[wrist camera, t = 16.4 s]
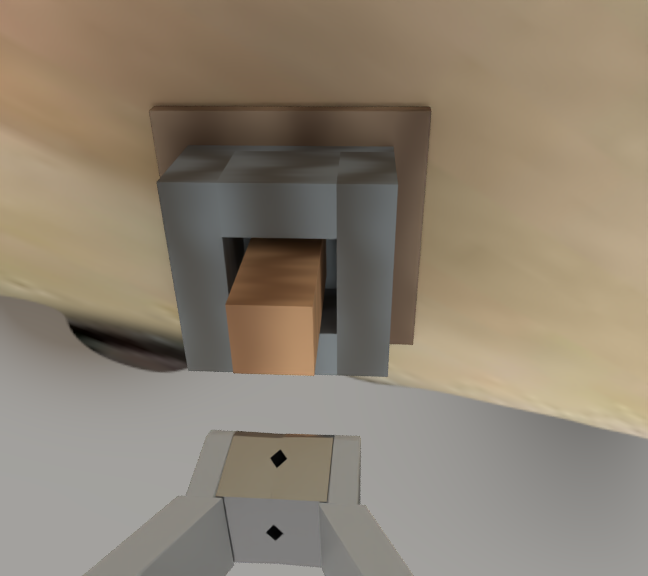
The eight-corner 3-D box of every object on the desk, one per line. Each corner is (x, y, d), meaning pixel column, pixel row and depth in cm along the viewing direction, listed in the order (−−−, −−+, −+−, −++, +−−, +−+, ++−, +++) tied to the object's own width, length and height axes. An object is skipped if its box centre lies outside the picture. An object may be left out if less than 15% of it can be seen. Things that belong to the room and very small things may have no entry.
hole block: (429, 107, 34) (443, 144, 28) (412, 336, 42) (419, 403, 36) (154, 106, 35) (109, 142, 29) (189, 330, 43) (160, 394, 37)
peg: (326, 216, 35) (312, 306, 27) (326, 274, 37) (314, 375, 29) (259, 215, 36) (225, 304, 27) (264, 273, 38) (233, 373, 29)
